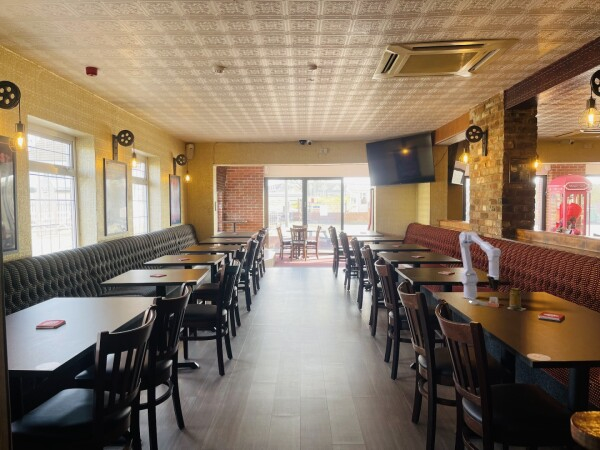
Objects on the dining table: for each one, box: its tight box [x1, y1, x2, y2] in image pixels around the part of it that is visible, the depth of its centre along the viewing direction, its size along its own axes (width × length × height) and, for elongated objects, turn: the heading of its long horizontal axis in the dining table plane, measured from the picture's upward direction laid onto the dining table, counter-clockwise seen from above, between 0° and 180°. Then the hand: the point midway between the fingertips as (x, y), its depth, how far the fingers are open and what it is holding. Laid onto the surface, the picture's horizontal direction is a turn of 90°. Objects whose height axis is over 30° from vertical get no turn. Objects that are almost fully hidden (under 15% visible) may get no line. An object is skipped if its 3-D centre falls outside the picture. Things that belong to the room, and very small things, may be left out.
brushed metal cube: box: [488, 296, 499, 303], centre depth 270 cm, size 4×4×4 cm
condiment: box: [508, 287, 526, 311], centre depth 258 cm, size 7×8×12 cm
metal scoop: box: [467, 297, 500, 308], centre depth 268 cm, size 18×7×4 cm, turn 48°
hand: (493, 289), depth 269 cm, fingers open, 7 cm apart
